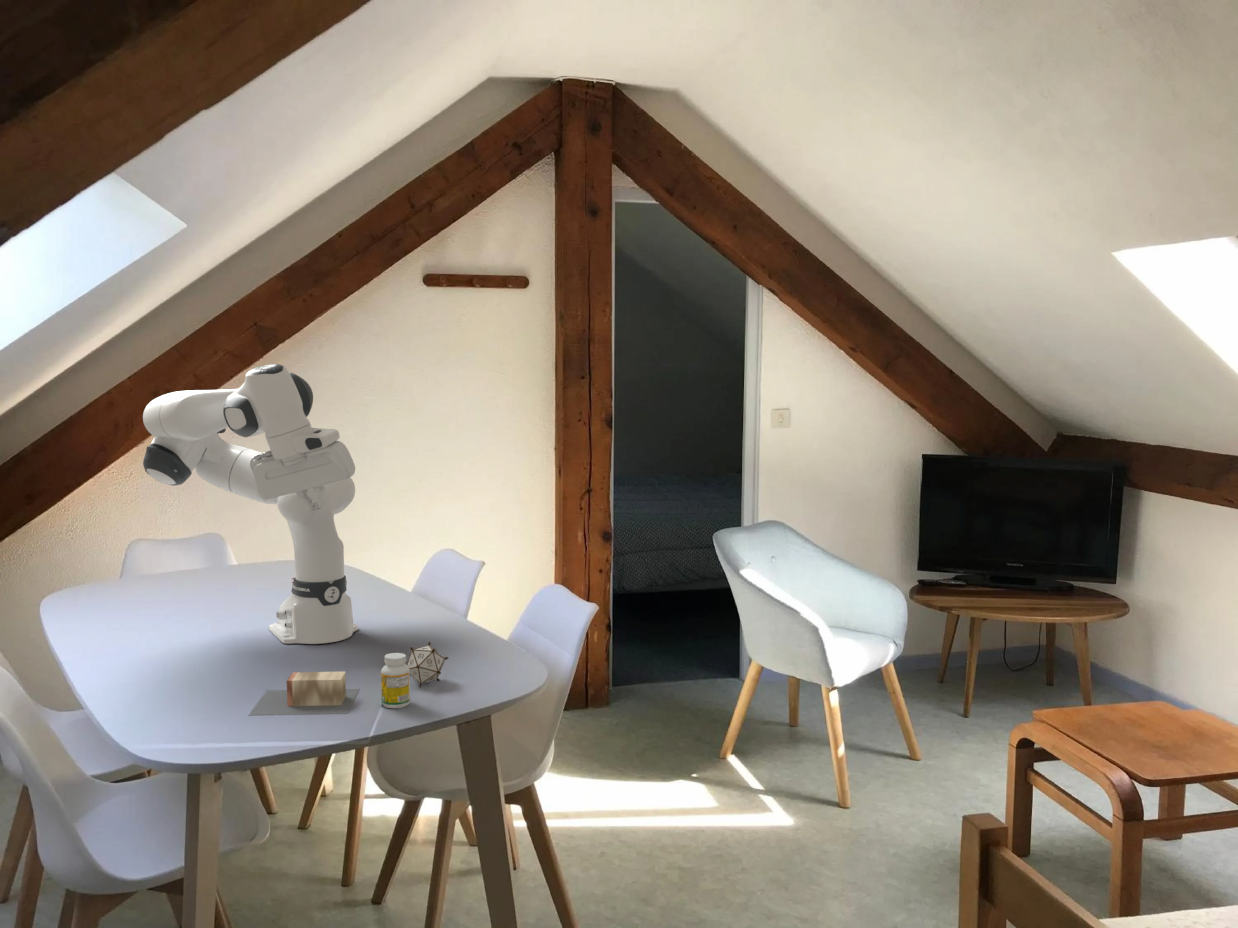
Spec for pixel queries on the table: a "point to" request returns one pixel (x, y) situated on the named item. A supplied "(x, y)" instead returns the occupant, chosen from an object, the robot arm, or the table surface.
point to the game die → (425, 664)
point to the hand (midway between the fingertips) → (317, 509)
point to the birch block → (316, 688)
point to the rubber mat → (277, 705)
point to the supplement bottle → (395, 681)
